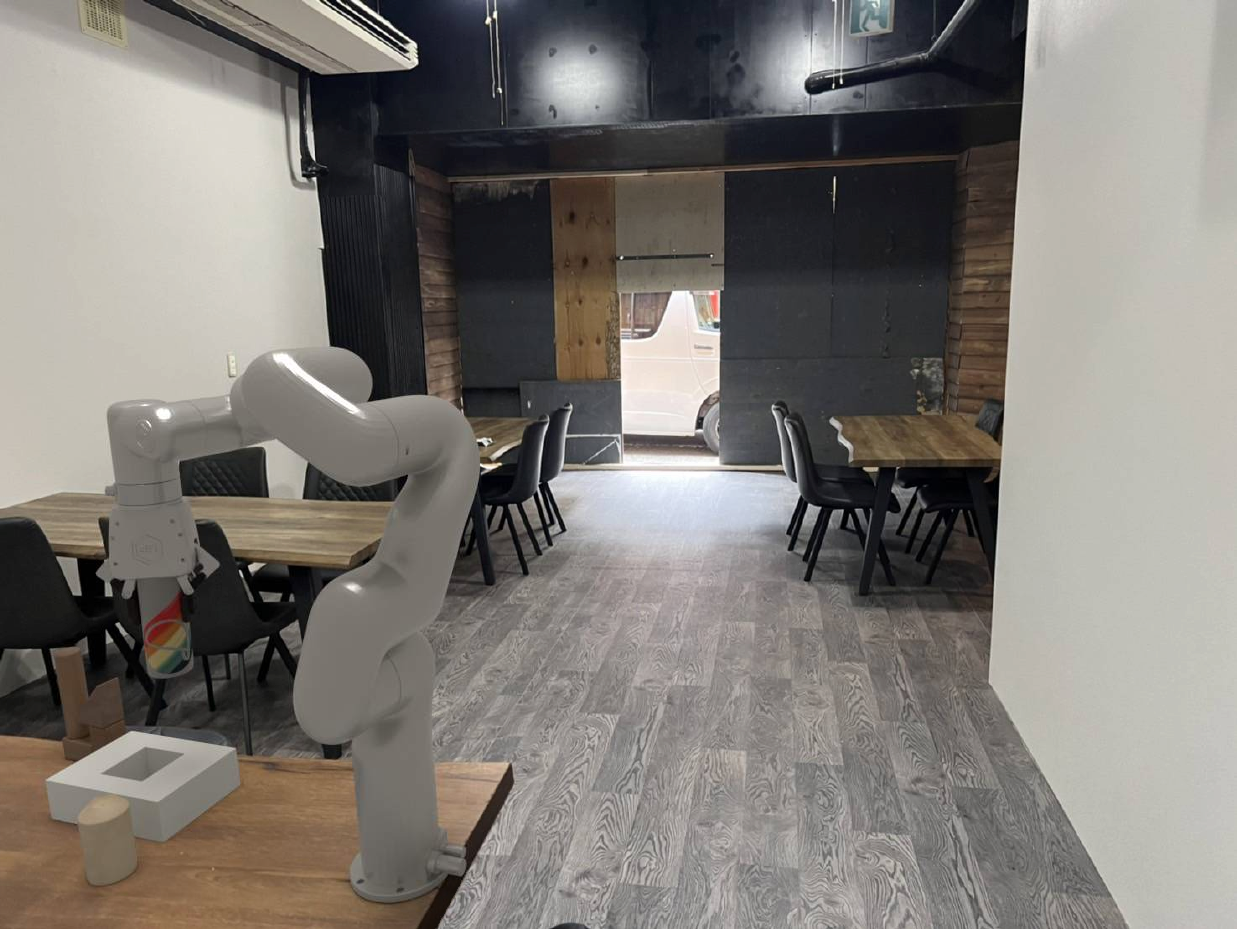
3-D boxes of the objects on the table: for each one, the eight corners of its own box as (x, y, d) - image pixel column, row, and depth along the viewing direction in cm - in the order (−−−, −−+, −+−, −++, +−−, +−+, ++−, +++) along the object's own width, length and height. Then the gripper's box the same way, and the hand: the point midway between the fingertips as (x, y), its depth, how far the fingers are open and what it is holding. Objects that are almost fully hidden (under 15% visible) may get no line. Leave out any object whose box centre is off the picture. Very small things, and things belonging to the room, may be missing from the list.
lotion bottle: (178, 680, 110) (162, 538, 106) (138, 678, 110) (121, 537, 107) (202, 662, 115) (188, 526, 112) (164, 661, 116) (149, 525, 112)
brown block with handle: (109, 771, 126) (93, 663, 123) (64, 759, 130) (46, 653, 127) (131, 759, 129) (116, 653, 126) (86, 747, 133) (70, 644, 130)
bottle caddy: (240, 785, 121) (236, 748, 120) (163, 842, 108) (157, 802, 107) (136, 766, 127) (131, 730, 126) (51, 818, 114) (45, 780, 113)
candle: (101, 892, 99) (89, 818, 97) (78, 877, 102) (66, 805, 100) (146, 866, 103) (136, 795, 102) (124, 852, 106) (113, 783, 105)
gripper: (65, 502, 103) (84, 636, 106) (209, 496, 106) (223, 626, 109) (91, 489, 110) (108, 615, 114) (226, 484, 113) (239, 606, 117)
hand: (165, 619), depth 111 cm, fingers closed on lotion bottle, 5 cm apart
